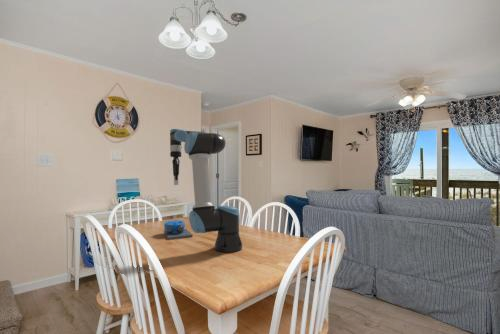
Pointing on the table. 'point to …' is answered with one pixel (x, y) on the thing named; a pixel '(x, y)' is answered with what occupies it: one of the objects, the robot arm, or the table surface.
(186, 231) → the mat
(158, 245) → the table surface
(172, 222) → the alarm clock
